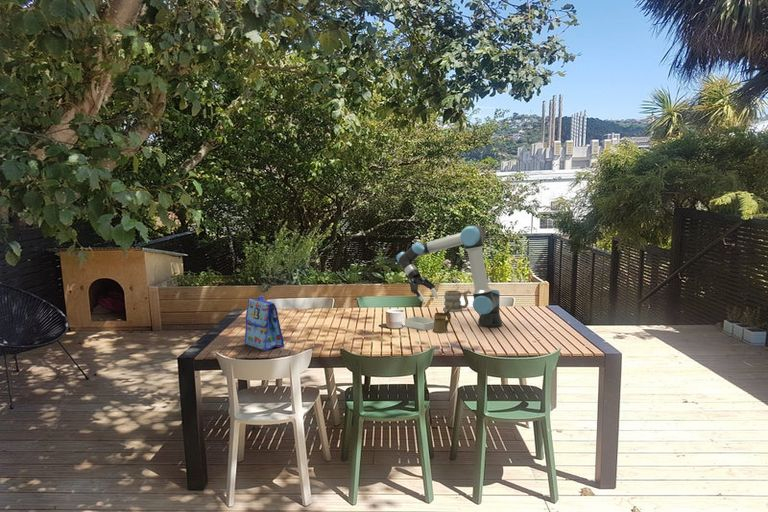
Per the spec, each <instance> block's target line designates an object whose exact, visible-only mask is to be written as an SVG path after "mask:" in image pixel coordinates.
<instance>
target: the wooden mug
mask: <svg viewBox="0 0 768 512" xmlns="http://www.w3.org/2000/svg"><path fill="white" fill-rule="evenodd" d="M454 304H455V303H452V304H451V306H450V307H449V309H448V310H447V312H446V311H443V312H436V313H434V317H433V319H434V328H433V329H432V332H433V333H435V334H436V333H437V334H444V333H447V332H448V331H449V329H448V325H449V323H450V322H451V319H452V314H451V312H449V311H450V310H451V308H452V307H453V306H454ZM446 318H447V319H446Z"/></svg>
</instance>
